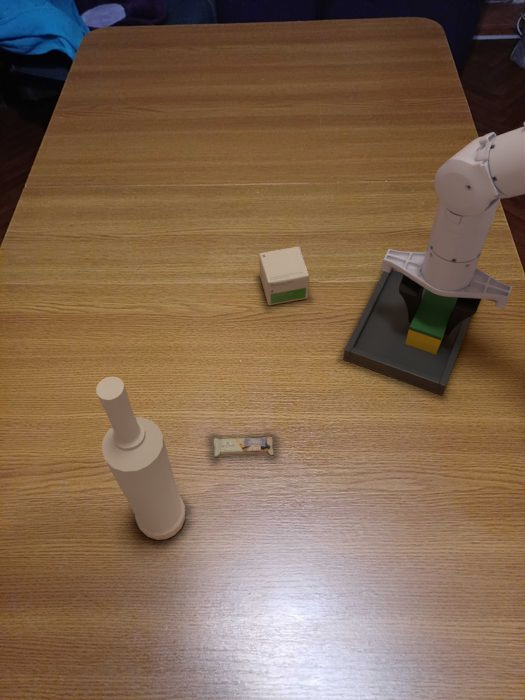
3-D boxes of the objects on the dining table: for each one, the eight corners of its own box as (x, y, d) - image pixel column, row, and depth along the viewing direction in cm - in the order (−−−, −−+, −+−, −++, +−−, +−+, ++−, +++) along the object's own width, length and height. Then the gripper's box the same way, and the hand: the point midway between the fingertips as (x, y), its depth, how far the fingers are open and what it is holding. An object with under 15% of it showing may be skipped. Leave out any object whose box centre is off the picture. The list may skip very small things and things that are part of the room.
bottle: (141, 548, 63) (77, 426, 43) (134, 501, 66) (71, 368, 46) (191, 534, 64) (150, 408, 44) (181, 489, 67) (139, 352, 47)
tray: (479, 295, 82) (483, 284, 81) (442, 395, 73) (445, 386, 71) (389, 266, 86) (391, 256, 84) (342, 359, 77) (344, 349, 75)
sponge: (436, 355, 76) (442, 337, 73) (404, 344, 77) (409, 326, 74) (451, 315, 80) (457, 297, 77) (421, 305, 81) (426, 287, 78)
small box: (267, 307, 82) (267, 282, 78) (259, 276, 85) (258, 251, 81) (309, 300, 83) (310, 274, 79) (298, 269, 86) (299, 244, 82)
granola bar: (213, 458, 69) (212, 454, 68) (214, 440, 71) (213, 436, 70) (273, 456, 69) (273, 452, 68) (272, 438, 71) (272, 434, 70)
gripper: (531, 240, 67) (496, 319, 78) (402, 203, 71) (386, 284, 82) (517, 283, 63) (482, 360, 74) (382, 242, 67) (368, 321, 78)
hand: (430, 323), depth 78 cm, fingers closed on sponge, 4 cm apart
